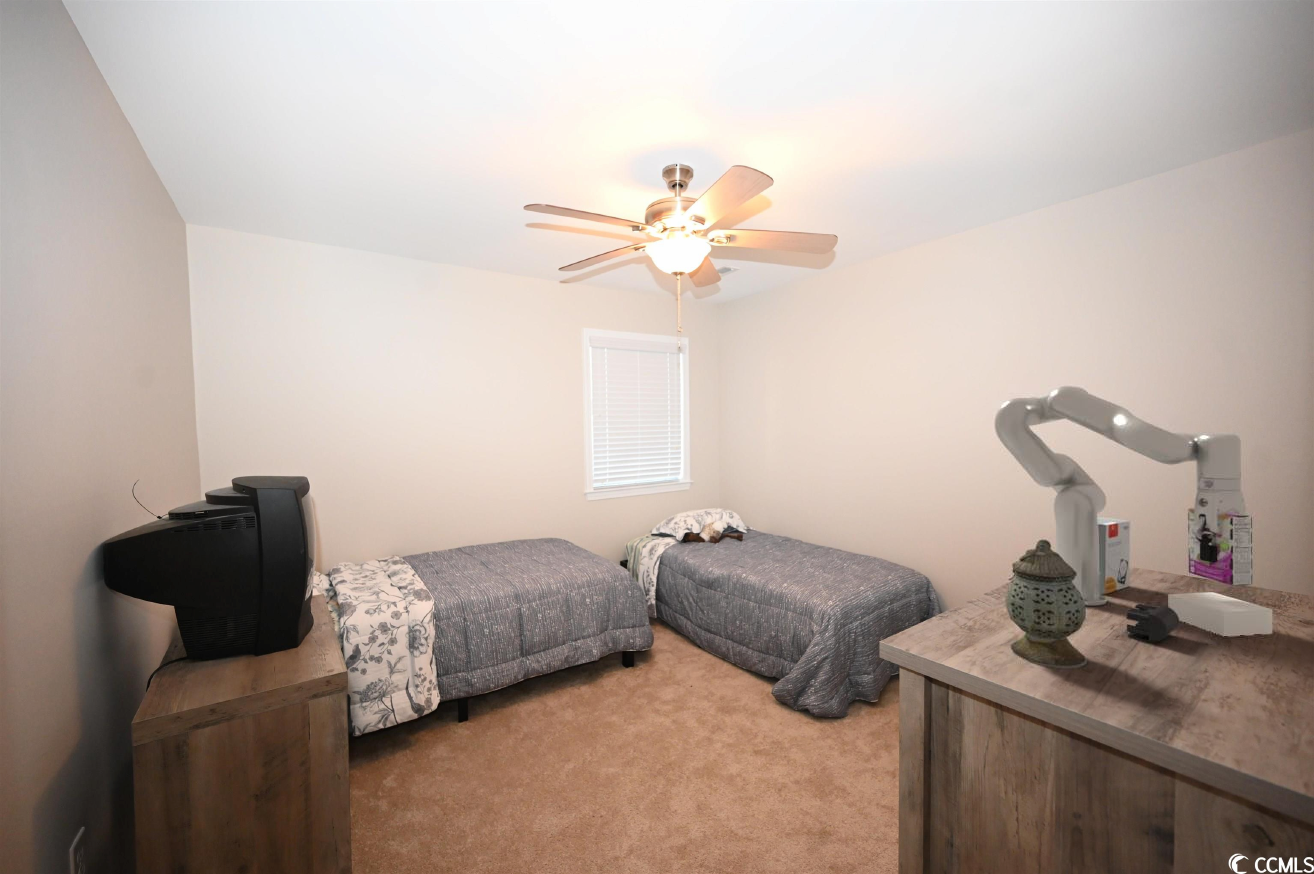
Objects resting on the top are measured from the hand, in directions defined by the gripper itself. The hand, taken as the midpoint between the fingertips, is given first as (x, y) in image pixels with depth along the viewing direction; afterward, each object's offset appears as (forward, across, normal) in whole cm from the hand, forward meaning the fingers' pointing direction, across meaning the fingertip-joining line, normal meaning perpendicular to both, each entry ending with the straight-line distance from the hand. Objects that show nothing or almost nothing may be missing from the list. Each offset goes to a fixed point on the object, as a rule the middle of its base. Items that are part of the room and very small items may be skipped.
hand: (1218, 559), depth 134 cm
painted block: (+16, 0, 0) cm, 16 cm away
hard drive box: (+16, +3, +31) cm, 35 cm away
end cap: (+16, -22, -1) cm, 27 cm away
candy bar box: (+5, 0, 0) cm, 5 cm away
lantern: (+16, -53, -2) cm, 56 cm away
